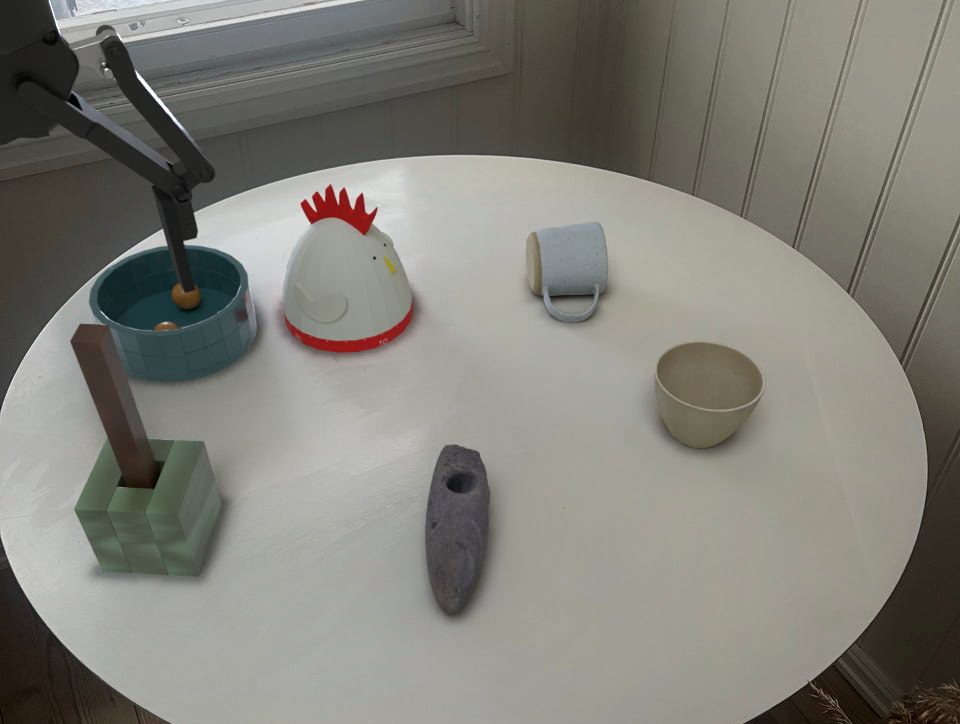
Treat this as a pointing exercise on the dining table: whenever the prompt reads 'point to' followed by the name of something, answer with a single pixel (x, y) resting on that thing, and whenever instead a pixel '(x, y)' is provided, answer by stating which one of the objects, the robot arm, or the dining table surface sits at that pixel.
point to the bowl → (176, 314)
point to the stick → (115, 404)
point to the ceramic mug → (568, 264)
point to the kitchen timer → (344, 279)
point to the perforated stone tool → (456, 525)
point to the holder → (152, 512)
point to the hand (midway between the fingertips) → (82, 308)
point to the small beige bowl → (706, 390)
